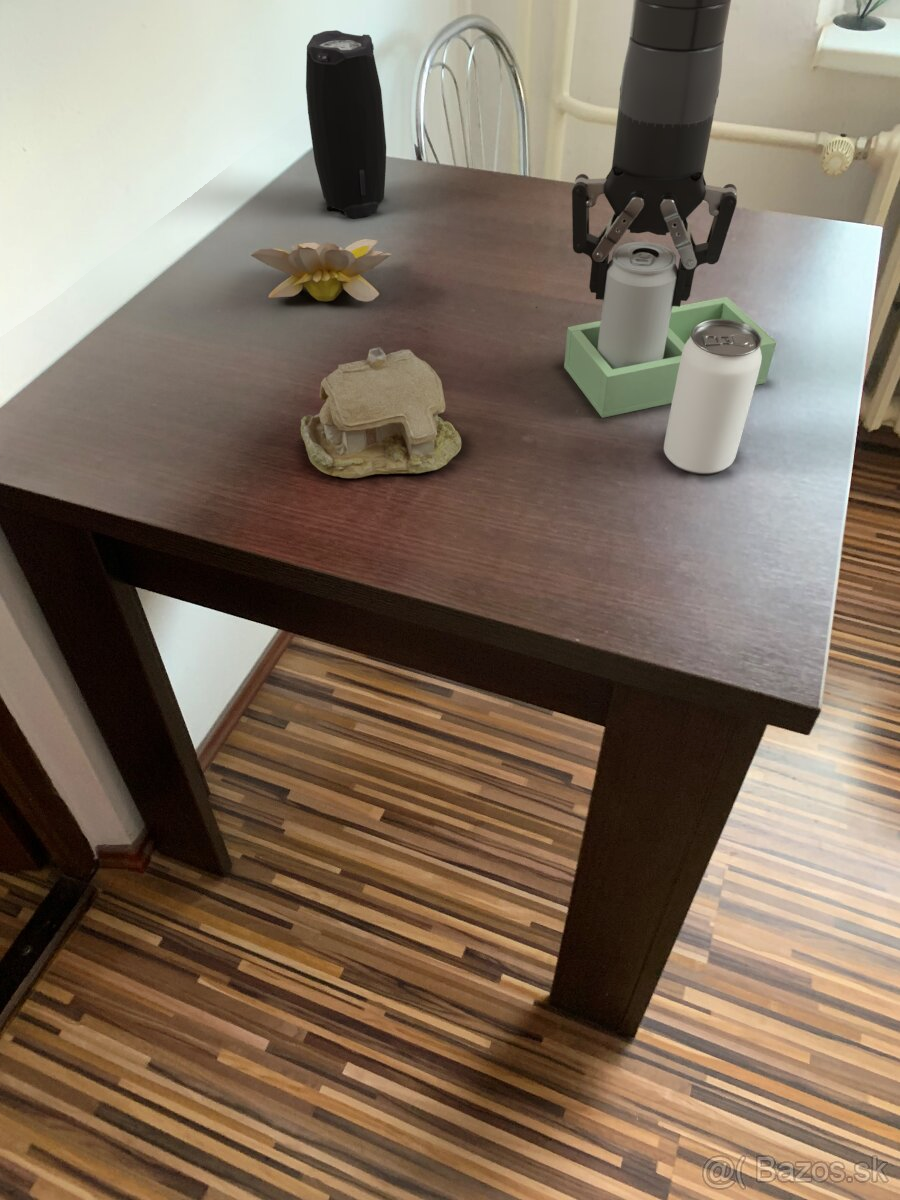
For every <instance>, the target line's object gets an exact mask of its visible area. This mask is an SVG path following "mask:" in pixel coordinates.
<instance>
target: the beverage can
mask: <svg viewBox="0 0 900 1200" xmlns="http://www.w3.org/2000/svg"><path fill="white" fill-rule="evenodd" d="M676 263H677V255H676V253H675V252H674V251H673V250H672V249H670V248H669V247H667V246H665V245H663V244H659V243H655V242H649V241H633V242H628V243H627V242H626V243H624V244H622V245H619V246H618V247H615V249H613V252H612V256H611V259H610V260H609V261H608V265H607V270H606V279H605V288H604V296H603V300H602V305H601V306H602V307H601V313H600V315H601V316H600V321H601V322H600V331H599V340H598V349H597V351H598V352H599V354H600V355H601V356H602V357H603V358H604V360H605V361H606V362H607V363H608V365H609V366H610V367H611V368H612V369H617V368H622V367H627V366H632V365H637V364H642V363H647V362H652V361H657V360H662V359H663V356H664V350H665V344H666V339H667V333H668V327H669V322H670V316H671V310H672V307H673V306H672V304H673V299H674V293H675V288H676V282H677V276H678V266H677V264H676Z"/></svg>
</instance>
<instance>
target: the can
mask: <svg viewBox="0 0 900 1200" xmlns="http://www.w3.org/2000/svg"><path fill="white" fill-rule="evenodd" d="M760 345H761V336H760V335H759V333H758V332H757V331H756V330H755V329H754V328H752V327H750V326H749V325H747V324H744V323H741V322H738V321H734V320H728V319H713V320H707V321H704V322H701V323H699V324H697V325H696V326H695V327H694V328H693V329H692V331H691V337H690V338H689V339H688V341H687V342H686V343H685V345H684V348H683V351H682V355H681V360H680V365H679V370H678V375H677V380H676V385H675V390H674V395H673V400H672V403H671V406H670V410H669V415H668V421H667V426H666V432H665V436H664V442H663V452H664V454H665V456H666V458H667V459H668V460H669V461H670V463H671V464H672V465H673V466H674V467H676V468H678V469H680V470H683V471H684V472H687V473H691V474H696V475H712V474H713V475H714V474H717V473H719V472H721V471H724V470H725V469H727V468H729V467H730V466H731V465H732V464H733V463H734V461H735V460H736V457H737V454H738V450H739V447H740V443H741V439H742V435H743V432H744V429H745V425H746V422H747V418H748V415H749V414H748V413H749V410H750V407H751V403H752V399H753V395H754V392H755V388H756V386H757V385H756V381H757V377H758V373H759V370H760V365H761V360H762V354H761V350H760Z"/></svg>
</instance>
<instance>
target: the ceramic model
mask: <svg viewBox="0 0 900 1200" xmlns="http://www.w3.org/2000/svg"><path fill="white" fill-rule="evenodd" d="M319 399H320V400H322V401H325V402H324V404H323V405H322V406H321V408H320V411H319V413H317V414H316V415H312V414H307V415H304V416H303V417H302V419H300V423H301V425H300V436H301V438H302V440H303V442H304V446H305V450H306V452H307V455H308V459H309V461H310V463H311V464H312V465H313V466H314V467H315V468H316V469H317V470H318V471H320V472H322V473H324V474H326V475H328V476H333V477H339V478H342V479H358V478H364V477H368V476H372V475H373V476H374V475H381V474H382V475H390V474H422V473H426V472H431V471H437V470H439V469H441V468H442V467H444V466H446V465H447V464H448V463H449V462H450V461H451V460H452V459H453V458H454V457H456V456H457V455H458V453H459V452H460V451H461V449H462V438H461V436H460V433H459V432H458V430H456V429H455V427H454V425H453V424H452V423H451V422H449V421H448V420H444V419H442V418H441V416H439V415H440V414H442V413H444V412H445V410H446V402H445V396H444V388H443V383H442V380H441V378H440V376H439V375H438V373H437V372H436V371H435V369H433V367H431V365H430V364H429V363H427V362H426V361H425V360H422V359H420V358H419V357H418V356H416V355H415V354H414V353H413V352H412V350H411V349H410V348H409V349H400V350H397V351H394V352H390V353H388V354H386V353H385V351H384V350H383V349H382V347H380V346H379V347H374V348H371V349H369V350H368V355H367V358H366V359H362V360H358V361H353V362H347V363H342V364H338V367H337V369H335V370H333V372H331V373H329V374H328V376H324V377H323V379H322V381H320V388H319Z"/></svg>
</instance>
